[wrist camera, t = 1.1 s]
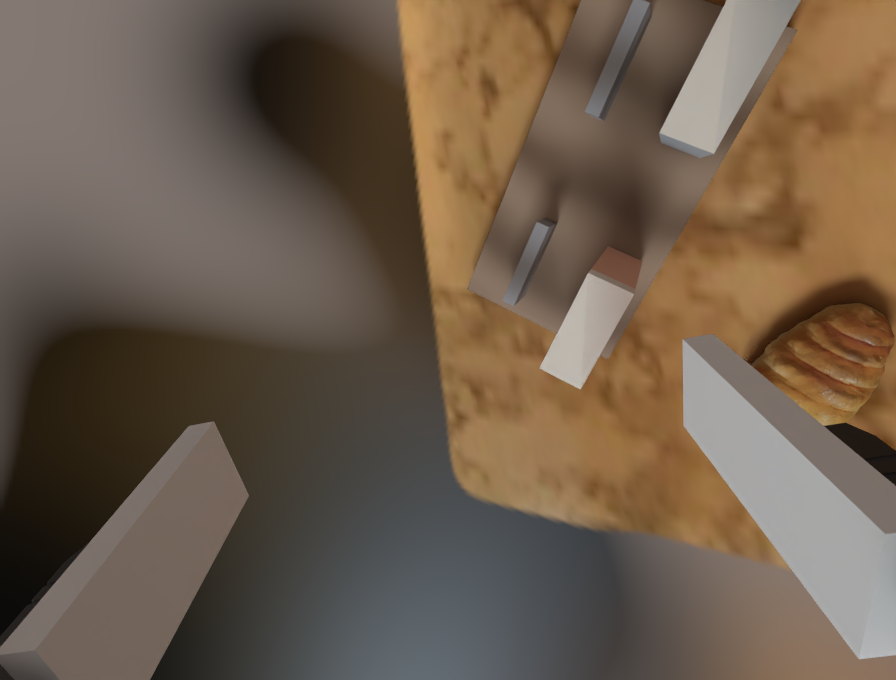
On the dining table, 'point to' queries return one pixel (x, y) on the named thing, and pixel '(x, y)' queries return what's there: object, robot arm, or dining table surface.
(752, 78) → the grey rectangular block
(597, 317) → the pink upright block
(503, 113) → the dining table surface
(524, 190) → the taupe stand
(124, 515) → the robot arm
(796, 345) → the pastry
